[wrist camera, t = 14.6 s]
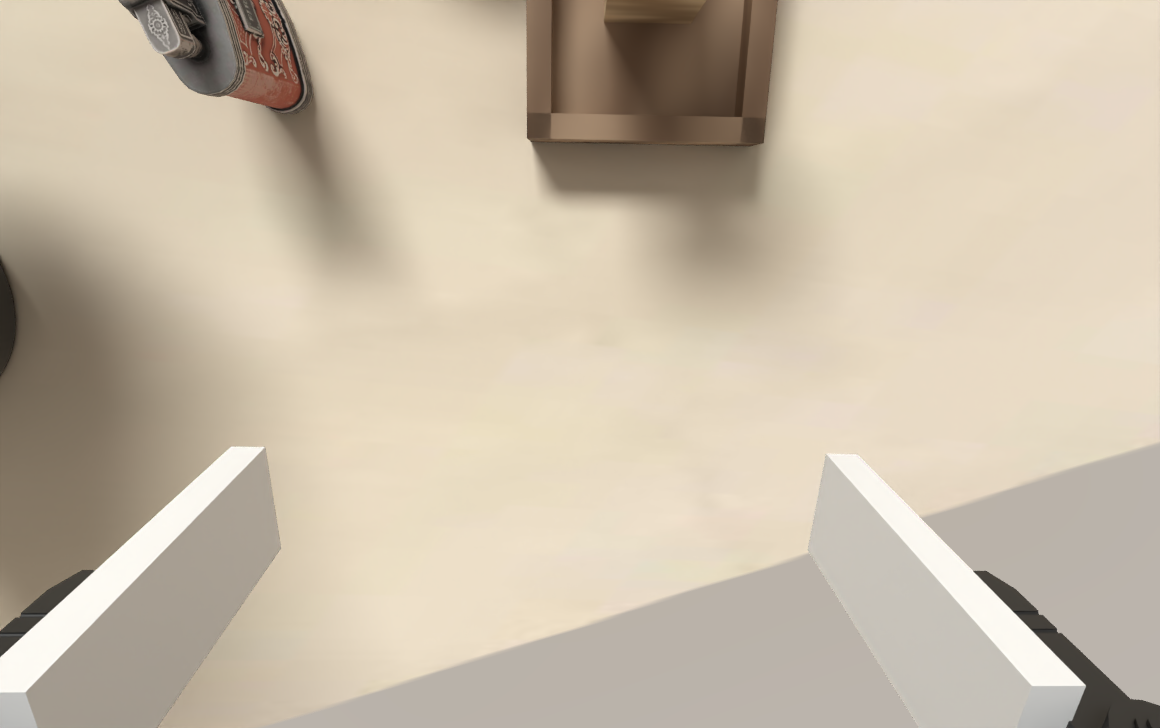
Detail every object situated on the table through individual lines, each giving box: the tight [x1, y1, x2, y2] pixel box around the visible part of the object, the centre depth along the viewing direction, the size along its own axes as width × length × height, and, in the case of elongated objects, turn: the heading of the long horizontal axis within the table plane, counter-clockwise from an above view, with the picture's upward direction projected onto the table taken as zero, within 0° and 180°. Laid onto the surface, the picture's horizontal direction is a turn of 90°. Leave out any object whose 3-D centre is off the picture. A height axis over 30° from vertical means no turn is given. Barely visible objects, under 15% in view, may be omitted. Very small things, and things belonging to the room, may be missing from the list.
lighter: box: [119, 0, 313, 114], centre depth 27 cm, size 8×3×10 cm, turn 19°
